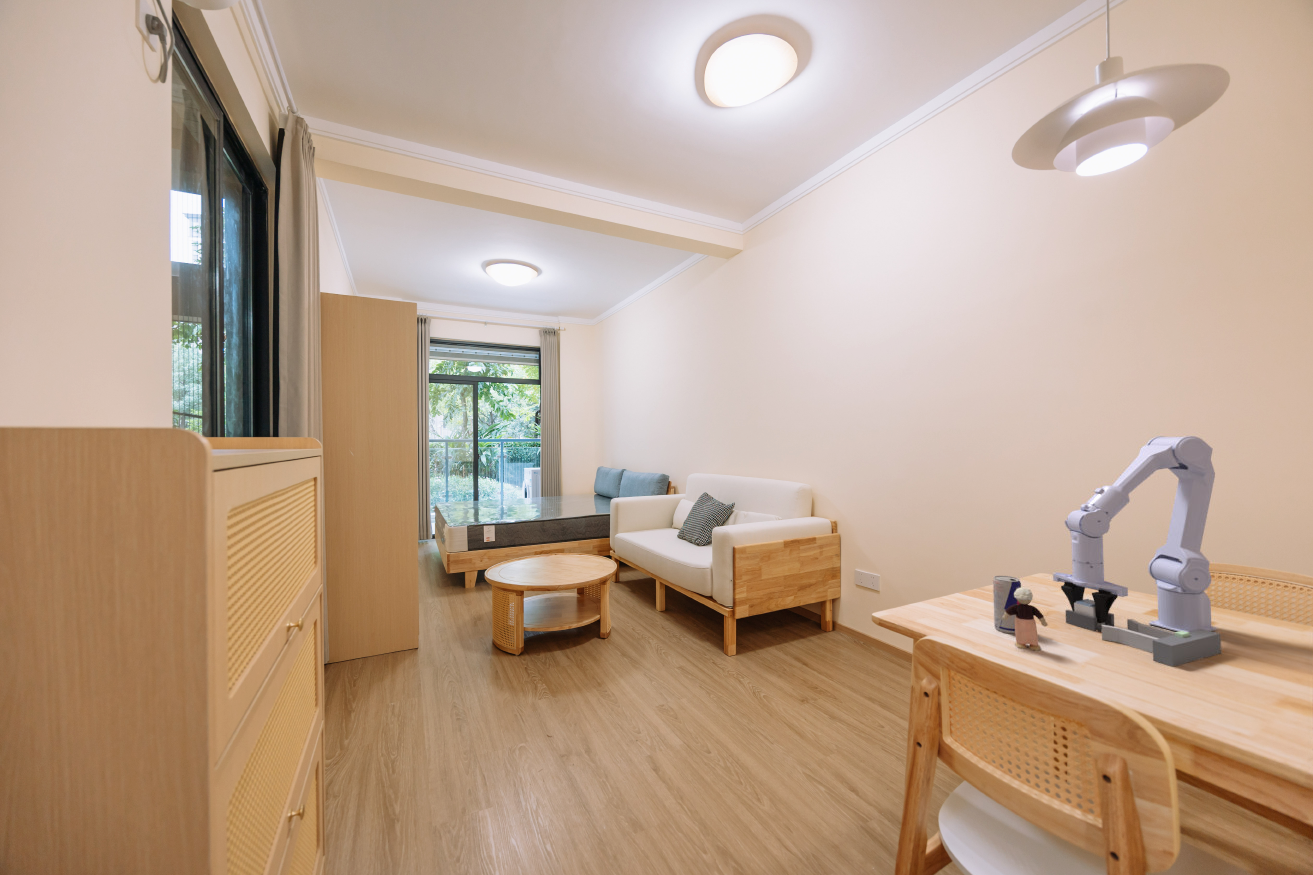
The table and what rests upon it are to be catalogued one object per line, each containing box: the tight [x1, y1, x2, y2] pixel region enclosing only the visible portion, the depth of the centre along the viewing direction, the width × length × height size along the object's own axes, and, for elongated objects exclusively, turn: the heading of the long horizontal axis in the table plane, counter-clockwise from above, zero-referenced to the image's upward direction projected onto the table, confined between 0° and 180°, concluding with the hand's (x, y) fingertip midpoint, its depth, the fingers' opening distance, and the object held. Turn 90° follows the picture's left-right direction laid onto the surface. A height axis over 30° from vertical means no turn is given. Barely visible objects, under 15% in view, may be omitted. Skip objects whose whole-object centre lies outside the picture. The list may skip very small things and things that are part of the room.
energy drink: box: [992, 575, 1022, 635], centre depth 118 cm, size 5×5×12 cm
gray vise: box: [1065, 609, 1115, 632], centre depth 121 cm, size 13×7×3 cm, turn 109°
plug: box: [1074, 598, 1105, 626], centre depth 120 cm, size 4×4×6 cm
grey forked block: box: [1101, 618, 1222, 668], centre depth 107 cm, size 16×14×5 cm
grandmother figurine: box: [1002, 586, 1049, 652], centre depth 109 cm, size 8×4×13 cm, turn 71°
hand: (1089, 618), depth 120 cm, fingers open, 4 cm apart
